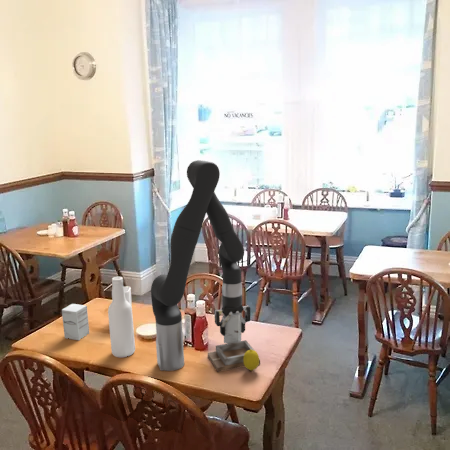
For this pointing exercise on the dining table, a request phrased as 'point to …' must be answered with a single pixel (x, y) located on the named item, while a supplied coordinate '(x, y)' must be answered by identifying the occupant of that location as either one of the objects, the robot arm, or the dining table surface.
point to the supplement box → (75, 321)
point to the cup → (126, 294)
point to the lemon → (251, 359)
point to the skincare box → (233, 329)
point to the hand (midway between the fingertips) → (232, 333)
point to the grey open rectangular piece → (229, 355)
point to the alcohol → (121, 322)
